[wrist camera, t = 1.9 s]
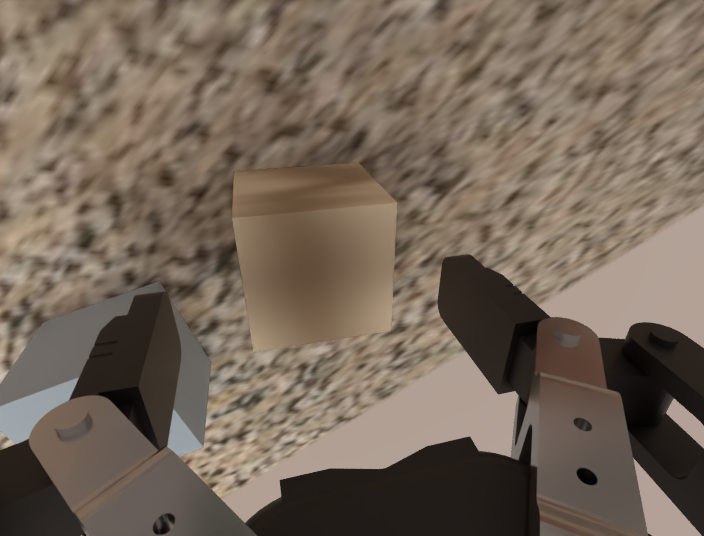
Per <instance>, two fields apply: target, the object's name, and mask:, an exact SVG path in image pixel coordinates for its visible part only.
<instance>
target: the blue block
mask: <svg viewBox="0 0 704 536" xmlns="http://www.w3.org/2000/svg"><path fill="white" fill-rule="evenodd" d="M164 291H165V289H164V288H163V286H162V284H161V283H160V281H158V282H155V283H152V284H149V285H146V286H144V287H141V288H138V289H135V290H132V291H130V292H127V293H124V294H121V295H118V296H115V297H113V298H110V299H107V300H104V301H101V302H99V303H96V304H93V305H90V306H87V307H85V308H82V309H79V310H76V311H73V312H70V313H68V314H65V315H62V316H59V317H56V318H54V319H51V320H48V321H45V322H43V323H42V325H41V326H40V328H39V329H38V331H37V332H36V333H35V335H34V336H33V338H32V339H31V341H30V342H29V344H28V345H27V346H26V348H25V349H24V351H23V352H22V354H21V355H20V356H19V358H18V359H17V361H16V362H15V364H14V365H13V367H12V368H11V369H10V371H9V372H8V374H7V375H6V377H5V378H4V379H3V381H2V382H1V384H0V431H1V432H2V433H3V434H4V435H5V436H7V437H8V438H9V439H10V440H11V441H13V442H14V443H15V444H18V443H20V442H23V441H25V440H27V439H29V436H30V433H31V431H32V429H33V428H34V426H35V425H36V423H37V422H38V421H39V420H40V419H41V418H42V417H43V416H44V415H45V414H47V413H48V412H49V411H51V410H52V409H54V408H55V407H57V406H59V405H60V404H63V403H65V402H67V401H69V399H70V397H71V394H72V392H73V390H74V388H75V386H76V383H77V381H78V379H79V377H80V375H81V372H82V370H83V368H84V366H85V363H86V361H87V359H89V355H90V352H91V350H92V348H93V347H94V344H95V341H96V339H97V337H98V335H99V332H100V330H101V329H102V328H103V327H104V326H105V325H106V324H108V323H109V322H110V321H111V320H112V319H113V318H114V317H115V316H123V315H127V314H128V311H129V309H130V306H131V304H132V301H133V298H134V296H135V295H140V294H148V293H156V292H164ZM165 292H166V291H165ZM168 296H169V295H168ZM169 299H170V297H169ZM170 302H171V306H172V310H173V314H174V318H175V322H176V325H177V329H178V333H179V337H180V342H181V364H180V370H179V376H178V383H177V389H176V395H175V401H174V408H173V414H172V420H171V427H170V433H169V439H168V445H167V447H168V448H170V449H171V450H172V451H173V452H174V453H176V454H177V455H178V456H182V455H184V454H187V453H190V452H192V451H195V450H197V449H200V448H203V445H204V434H205V423H206V412H207V402H208V391H209V380H210V369H211V361H210V360H209V358H208V356H207V355H206V353H205V352H204V350H203V349H202V347H201V345H200V344H199V342H198V341H197V339H196V338H195V336H194V335H193V333H192V331H191V330H190V328H189V327H188V325H187V324H186V322H185V320H184V319H183V317H182V316H181V314H180V313H179V311H178V309H177V308H176V306H175V305H174V303H173V302H172V300H171V299H170Z"/></svg>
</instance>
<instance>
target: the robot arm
mask: <svg viewBox="0 0 704 536" xmlns="http://www.w3.org/2000/svg"><path fill="white" fill-rule="evenodd" d="M438 309H439V313H440V316H441V318H442V319H443V321H444V322H445V324H446V325H447V326H448V328H449V329H450V330H451V332H452V333H453V334H454V336H455V337H456V338H457V340H458V341H459V342H460V344H461V345H462V346H463V348H464V349H465V350H466V352H467V353H468V354H469V356H470V357H471V358H472V360H473V361H474V363H475V364H476V365H477V367H478V368H479V369H480V371H481V372H482V373H483V375H484V376H485V377H486V379H487V380H488V381H489V383H490V384H491V385H492V386H493V388H494V389H495V391H496V392H497V393H498V394H502V393H507V392H512V391H516V393H517V394H518V395H519V396H518V399H517V403H516V409H515V419H514V430H513V440H512V450H511V458H510V457H508V456H504V455H500V454H496V453H490V452H483V451H478V449H477V448H476V446H475V445H474V443H473V441H472V439H471V438H470V437H466V438H461V439H457V440H453V441H448V442H444V443H440V444H435V445H431V446H427V447H425V448H423V449H421V450H419V451H417V452H416V453H414V454H412V455H410V456H408V457H406V458H404V459H402V460H400V461H399V462H397V463H395V464H393V465H391V466H389V467H387V468H384V469H327V470H322V471H317V472H313V473H309V474H304V475H300V476H296V477H291V478H287V479H283V480H280V486H281V497H280V498H278V499H277V500H275V501H273V502H271V503H270V504H268V505H267V506H265V507H264V508H262V509H261V510H259V511H258V512H257V513H256V514H255V515H253V516H252V517H251V518H250V519H249V520H248V521H247V522H246V523H244V522H243V521H242V520H241V519H240V518H239V517H238V516H237V515H236V514H235V513H234V512H233V511H232V510H231V509H230V508H229V507H228V506H227V505H226V504H225V503H224V502H223V501H222V500H221V499H220V498H219V497H218V496H217V495H216V494H215V493H214V492H213V491H212V490H211V489H210V488H209V487H208V486H207V485H206V484H205V483H204V482H203V481H202V480H201V479H200V478H199V477H198V476H197V475H196V474H195V473H194V472H193V471H192V470H191V469H190V468H189V467H188V466H187V465H186V464H185V463H184V462H183V461H182V460H181V459H180V458H179V456H178V455H177V454H176V453H174V452H173V451H172V450H171V449H170V448H168V447H167V445H168V439H169V433H170V427H171V420H172V414H173V408H174V401H175V395H176V389H177V383H178V376H179V370H180V364H181V342H180V337H179V333H178V329H177V325H176V322H175V318H174V314H173V310H172V306H171V302H170V299H169V296H168V294H167V292H165V291H164V292H156V293H148V294H140V295H135V296H134V298H133V301H132V304H131V306H130V309H129V311H128V314H127V315H123V316H115V317H114V318H113V319H112V320H111V321H110V322H109V323H108V324H106V325H105V326H104V327H103V328H102V329H101V330H100V332H99V335H98V337H97V339H96V341H95V344H94V347H93V348H92V350H91V352H90V355H89V359H87V361H86V363H85V366H84V368H83V370H82V372H81V375H80V377H79V379H78V381H77V383H76V386H75V388H74V390H73V392H72V394H71V397H70V399H69V401H67V402H65V403H63V404H60V405H59V406H57V407H55V408H54V409H52V410H51V411H49V412H48V413H47V414H45V415H44V416H43V417H42V418H41V419H40V420H39V421H38V422H37V423H36V425H35V426H34V428H33V429H32V431H31V433H30V436H29V439H27V440H25V441H23V442H20V443H18V444H16V445H13V446H11V447H8V448H5V449H3V450H0V536H81V535H82V536H652V535H650V534H648V532H647V527H646V522H645V517H644V512H643V507H642V501H641V496H640V491H639V486H638V481H637V476H636V471H635V465H634V460H633V458H634V459H635V460H636V461H637V462H638V463H639V464H640V466H641V467H642V468H643V469H644V470H645V471H646V472H647V474H648V475H649V476H650V477H651V478H652V479H653V480H654V481H655V483H656V484H657V485H658V486H659V487H660V488H661V490H662V491H663V492H664V493H665V494H666V495H667V496H668V497H669V498H670V500H671V501H672V502H673V503H674V504H675V505H676V506H677V508H678V509H679V510H680V511H681V512H682V513H683V514H684V516H685V517H686V518H687V519H688V520H689V521H690V522H691V524H692V525H693V526H694V527H695V528H696V529H697V530H698V531H699V533H700V534H701V535H702V536H704V449H703V448H702V447H701V446H700V445H699V444H698V443H697V442H696V441H695V440H694V439H693V438H692V437H691V436H690V435H688V434H687V433H686V432H685V431H684V430H683V429H682V428H681V427H680V426H679V425H678V424H677V423H676V422H674V421H673V420H672V419H671V418H670V417H669V416H668V415H667V414H666V411H667V410H668V408H669V405H670V404H671V402H672V400H673V398H674V399H676V400H677V401H678V402H679V403H680V404H681V405H683V406H684V407H685V408H686V409H687V410H688V411H689V412H690V413H692V414H693V415H694V416H695V417H696V418H697V419H698V420H699V421H701V423H702V424H703V425H704V348H703V347H701V346H700V345H698V344H697V343H695V342H694V341H693V340H691V339H690V338H688V337H687V336H685V335H684V334H682V333H680V332H679V331H676V330H674V329H672V328H670V327H666V326H664V325H660V324H655V323H644V322H643V323H637V324H634V325H632V326H631V327H630V329H629V331H628V334H627V336H626V339H612V338H598V336H597V335H596V334H595V333H594V332H593V331H592V330H591V329H590V328H588V327H587V326H585V325H583V324H581V323H579V322H577V321H574V320H571V319H567V318H559V317H550V316H549V315H547V314H546V313H545V312H544V311H543V310H542V309H541V308H539V307H538V306H537V305H536V304H535V303H534V302H533V301H531V300H530V299H529V298H528V297H527V296H526V295H525V294H522V292H521V291H520V290H519V289H518V288H517V287H516V286H513V284H512V283H511V282H510V281H509V280H508V279H506V278H505V277H504V276H503V275H501V274H499V273H497V272H495V271H493V270H491V269H489V268H485V267H484V266H483V265H482V264H480V263H479V262H478V261H477V260H476V259H475V258H474V257H473V256H471V255H469V254H468V255H460V256H452V257H446V258H445V259H444V260H443V263H442V270H441V278H440V286H439V294H438Z"/></svg>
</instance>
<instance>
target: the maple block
mask: <svg viewBox="0 0 704 536" xmlns="http://www.w3.org/2000/svg"><path fill="white" fill-rule="evenodd" d="M396 216H397V202H396V201H395V200H394V199H393V198H392V197H391V196H390V195H389V194H388V193H387V192H386V191H385V190H384V189H383V187H382V186H381V185H380V184H379V183H378V182H377V181H376V180H375V179H374V178H373V177H372V176H371V175H370V174H369V173H368V172H367V171H366V170H365V169H364V168H363V167H362V166H361V164H360V163H359V162H358V163H344V164H330V165H316V166H302V167H288V168H274V169H260V170H246V171H234V184H233V205H232V222H233V228H234V234H235V240H236V247H237V253H238V259H239V265H240V271H241V277H242V283H243V290H244V296H245V302H246V308H247V314H248V320H249V326H250V332H251V339H252V345H253V351H254V352H259V351H265V350H271V349H278V348H284V347H290V346H297V345H303V344H309V343H316V342H322V341H328V340H335V339H341V338H347V337H354V336H360V335H366V334H373V333H379V332H385V331H391V321H392V300H393V279H394V258H395V237H396Z"/></svg>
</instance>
